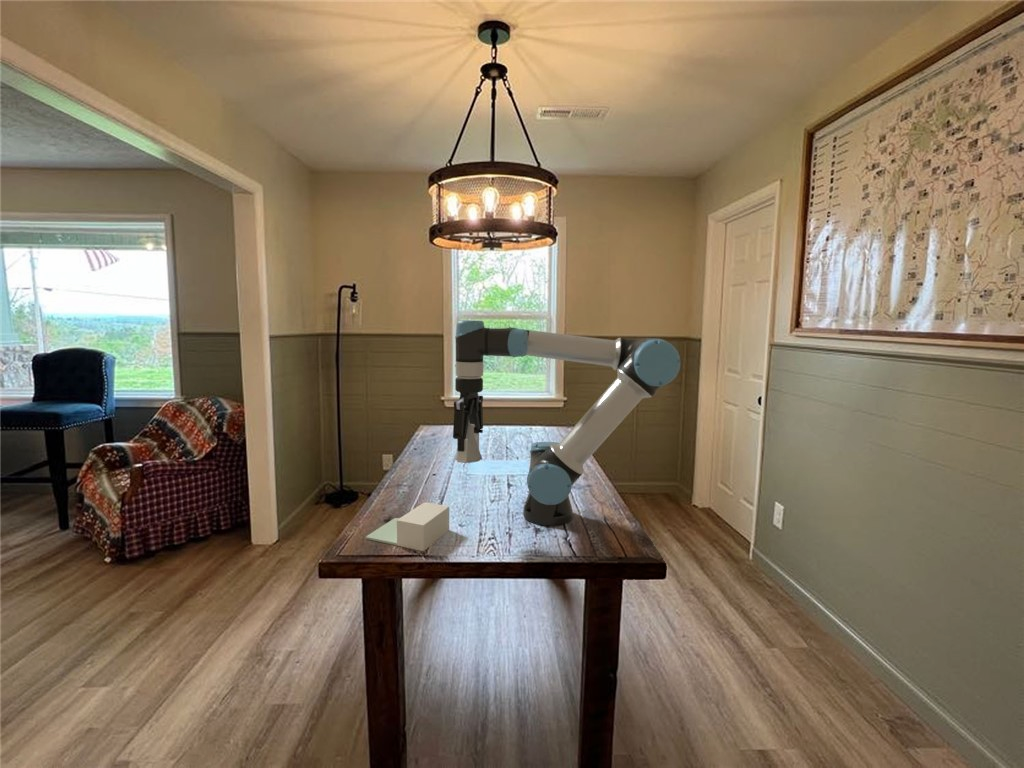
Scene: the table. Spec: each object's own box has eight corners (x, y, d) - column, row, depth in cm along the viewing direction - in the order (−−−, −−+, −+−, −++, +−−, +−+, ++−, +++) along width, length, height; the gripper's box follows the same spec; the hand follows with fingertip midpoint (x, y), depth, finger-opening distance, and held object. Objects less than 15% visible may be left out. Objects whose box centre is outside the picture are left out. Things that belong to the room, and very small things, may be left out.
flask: (468, 455, 140) (468, 421, 139) (486, 459, 135) (487, 424, 134) (450, 460, 134) (450, 424, 133) (468, 465, 130) (469, 428, 129)
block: (449, 529, 137) (449, 506, 137) (423, 551, 124) (423, 525, 124) (424, 525, 140) (424, 502, 139) (397, 545, 127) (396, 520, 126)
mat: (424, 525, 140) (424, 523, 140) (397, 545, 127) (396, 543, 127) (395, 519, 144) (395, 517, 144) (365, 538, 131) (365, 536, 131)
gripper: (472, 372, 142) (471, 448, 145) (439, 379, 124) (438, 466, 127) (495, 374, 140) (494, 451, 143) (465, 381, 121) (464, 470, 124)
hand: (468, 458), depth 135 cm, fingers closed on flask, 7 cm apart
